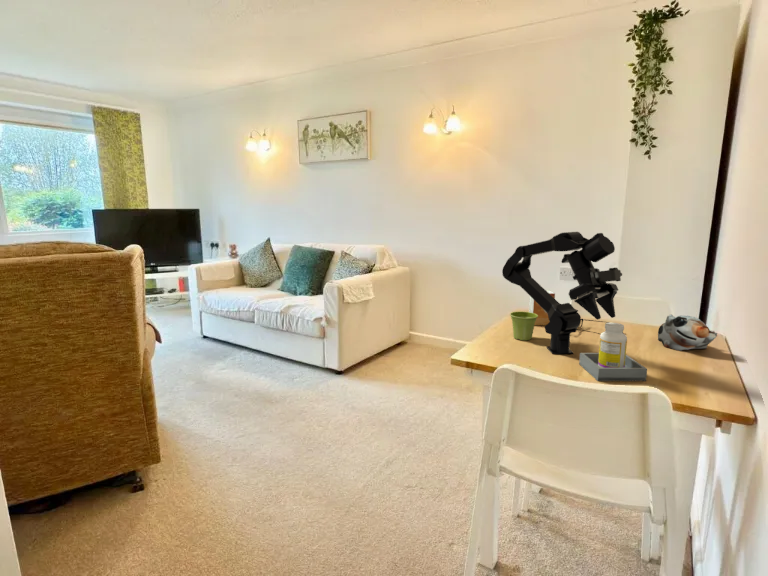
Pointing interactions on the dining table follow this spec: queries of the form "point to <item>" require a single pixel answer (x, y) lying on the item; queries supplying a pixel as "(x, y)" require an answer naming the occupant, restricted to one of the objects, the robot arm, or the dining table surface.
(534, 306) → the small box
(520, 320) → the plant pot
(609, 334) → the supplement bottle
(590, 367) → the tray
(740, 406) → the dining table surface
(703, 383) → the dining table surface
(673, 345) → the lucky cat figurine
